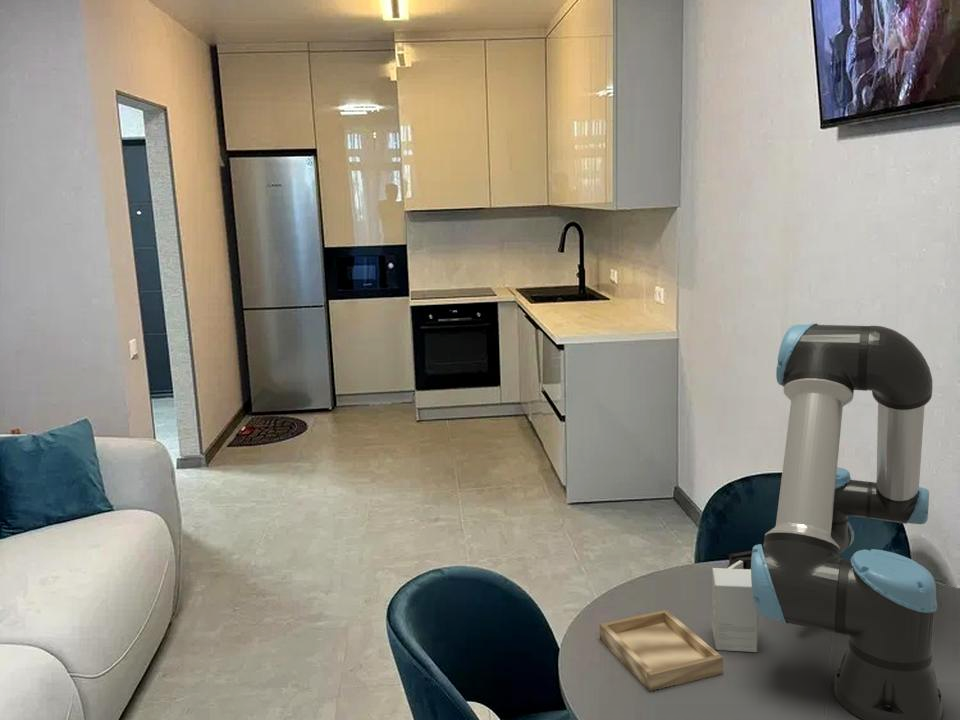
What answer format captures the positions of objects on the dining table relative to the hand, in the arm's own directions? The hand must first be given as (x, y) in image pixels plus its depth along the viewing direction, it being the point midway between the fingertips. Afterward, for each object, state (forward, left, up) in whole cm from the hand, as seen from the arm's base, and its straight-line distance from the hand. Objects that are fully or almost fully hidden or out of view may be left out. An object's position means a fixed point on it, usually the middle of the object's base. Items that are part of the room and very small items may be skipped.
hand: (757, 588), depth 148 cm
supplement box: (-4, +8, -7) cm, 11 cm away
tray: (-3, +23, -7) cm, 24 cm away
